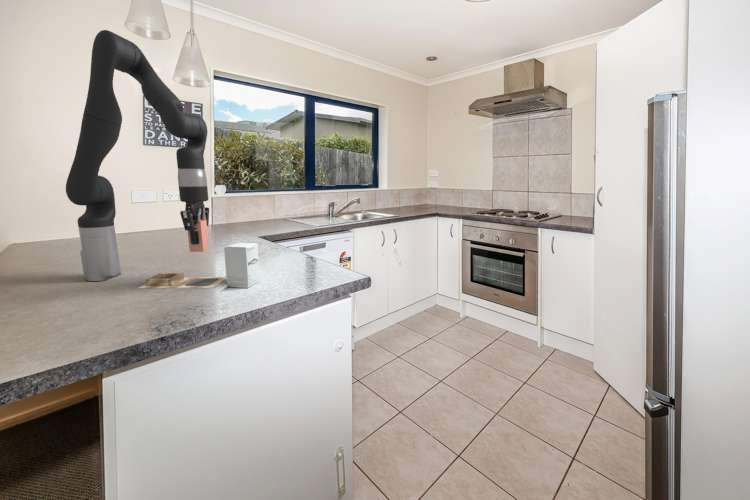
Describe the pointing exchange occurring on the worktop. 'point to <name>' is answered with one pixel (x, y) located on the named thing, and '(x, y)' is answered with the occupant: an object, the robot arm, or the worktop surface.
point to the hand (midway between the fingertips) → (198, 242)
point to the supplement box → (242, 265)
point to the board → (180, 281)
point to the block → (200, 238)
